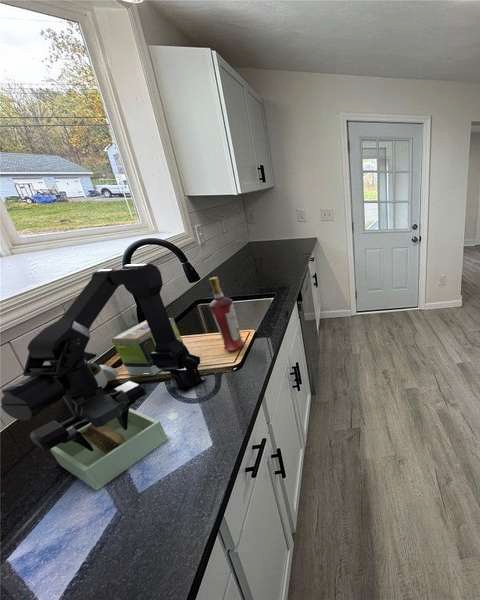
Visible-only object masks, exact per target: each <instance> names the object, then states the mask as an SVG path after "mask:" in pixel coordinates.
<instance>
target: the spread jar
mask: <svg viewBox="0 0 480 600" xmlns="http://www.w3.org/2000/svg"><path fill="white" fill-rule="evenodd" d="M87 363H88V365H89V367H90V368H91V370H92V372H93V374H94V376H95V378H96V380H97V382H98V384H99V385H100V386H101V387H102V388H103V389H104V390H105V389H106V388H107V386H108V382H113V381H115V380H117V378H118V376H119V372H118V370H116V368H114V367H111V366H109V365H105V364H98V363H95V362H92V361H90V360H89V361H88V362H87Z"/></svg>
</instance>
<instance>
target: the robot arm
mask: <svg viewBox="0 0 480 600" xmlns="http://www.w3.org/2000/svg"><path fill="white" fill-rule="evenodd" d="M121 285H123V287H124V288H125V290H126V291H127V292H128V293H130V294H131V295H132V296H133V297H135V298H136V299H137V301H138V304H139V306H140V308H141V311H142V313H143V316H144V318H145V320H146V321H147V323H148V326H149V328H150V331H151V333H152V336H153V338H154V341H155V343H156V347H155V350H154V352H152V353H150V356H151V358H152V360H153V365H154V366H155V365H156V366H157V368H158V369H162V370H161V371H163V372H164V373H169V374H170V377H169V379H170V382H171V384H172V388H173V389H175V390H177V391H180V392H183V393H187V392H189V391H190V390H193V388H195V387H197V386H198V385H199V384H201V383H203V382H204V381H205V380H206V379H205V378H204V377H201V373H200V371H199V365H200V364H201V356H198V355H194V354H191V353H190V351H189V349H188V347H187V346H186V345H185V343H184V342H183V343H181V342H180V341H179V340H178V339H177V338H176V336H175V333H174V331H173V328H172V325H171V323H170V320H169V318H170V317H169V315H168V312H167V310H166V307H165V304H164V301H163V299H162V296H161V291H162V288H163V285H164V283H163V277H162V272H161V270H160V268H159V267H158V266H157V265H155V264H153V263H137V264H135V263H134V264H133V263H132V264H131V263H130V264H125V265H123V266H122V267H121V268H118V269H116V268H115V269H98V270H96V271H94V272H93V273H92V275H91V279H90V280H89V281H88V283H87V284H86V286H84V288H83V289H82V290H81V292H80V293H79V294H78V296H77V297H76V298H75V299H74V301H73V302H72V303H71V305H70V306H69V307H68V309H67V310H66V311H65V312H64V314H63V315H62V316H61V317H60V318H59V319H58V320H56V321H55V322H53V323H52V324H50V325H48V326H46V327H45V328H44V329H42V330H41V331H39V333H38V334H36V335H35V336H34V337H33V338H32V339H31V340H30V341H29V343H28V345H27V351H28V355H27V358H26V362H25V366H24V370H23V372H22V376H23V377H26V378H25V379H23V380H21V381H19V382H18V383H15V384H12V385H10V386H8V387H6V388H3V389H2V390H1V393H2V394H3V397H1V399H0V404H1V405H0V407H1V409H2V410H3V412H4V413H6V414H7V415H8V416H10V417H11V418H13V419H15V420H18V421H21V422H22V421H23V422H24V421H29V420H30V419H32V418H33V417H35V416H36V415H39V414H40V413H41V412H43V411H44V410H46V409H48V408H50V407H51V406H53V405H54V404H55V403H57V402H59V401H60V400H62V399H63V400H64V399H65V400H64V402H65V401H66V402H65V404H66V403H67V404H68V405H67V404H66V405H67V407H68V406H69V407H68V409H69V408H70V409H69V411H70V412H71V414H72V413H73V414H74V416H72V417H69V418H68V419H65V420H64V421H62V422H61V423H59V422H57V421H56V420H54V419H53V420H51V421H49V422H47V423H46V424H44V425H42V426H40V427H38V428H36V429H34V430H32V431H31V432H30V435H29V439H30V440H31V441H32V443H33V444H34V445H36V446H37V447H39V448H40V449H42V450H43V451H50V449H51V448H53V447H55V446H57V445H58V444H60V443H63V444H64V443H67V442H69V441H73V442H75V443H78V444H80V445H82V446H83V447H85V448H86V449H88V450H90V451H91V452H92V451H94V450H93V448H92V446H91V445H90V444H89V443H88V441H87V440H86V439H85V438H84V437H83V436H82V433H80V432H79V431H77V430H78V429H75V427H76V426H78V425H80V424H81V423H84V422H83V421H85V420H88V421H87V422H89V423H92V424H93V425H94V426H95V427H102V426H104V425H105V424H106V423H108V422H109V421H111V420H113V419H115V418H117V419H118V422H119V424H120V425H121V427H122V428H123V429H124V430H127V425H128V412H129V409H130V408H131V407H132V406H133V405H135V404H136V402H137V400H139V399H140V398H142V397H144V396H145V395H147V390H146V388H145V386H144V385H143V384H140V383H138V382H136V381H133V380H128V381H127V382H124V383H122V384H121V385H119V386H117V387H115V388H113V391H112V392H111V393H107V391H105V389H103V388H102V387H101V386H100V385H99V384H98V382H97V380H96V378H95V376H94V374H93V372H92V370H91V368H90V367H89V365H88V363H87V362H88V361H89V362H90V361H91V360H93V359H95V358H96V357H97V356H98V354H97V353H92V352H87V351H85V350H86V349H87V346H88V344H89V342H90V339H91V334H90V329H91V327H92V325H93V323H94V322H95V321H96V319H97V318H98V317H99V315H100V314H101V312H102V311H103V309H104V308H105V307H106V305H107V303H108V302H109V301H110V299H111V298H112V296H113V295H114V293H115V292H116V291H117V290H118V288H119V286H121ZM50 362H58V364H57V365H50V364H45V363H50ZM44 364H45V365H44ZM73 414H72V415H73Z"/></svg>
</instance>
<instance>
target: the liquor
mask: <svg viewBox="0 0 480 600" xmlns="http://www.w3.org/2000/svg"><path fill="white" fill-rule="evenodd" d="M208 280H209V284H210V285H211V287H212V291H213V297H214V299H213V300H212V301H211V302H210V303H209V309H210V311H211V313H212V316H213V318H214V319H213V320H214V322H215V324H216V326H217V328H218V331H219V333H220V336H221V339H222V342H223V345H224V347H223V349H224V350H226V351H228V352H236V351H239V350H240V349H241V348H242V347H243V346H244V344H245V342H244V340H243V339H242V335H241V331H240V328H239V323H238V318H237V313H236V310H235V307H234V301H233V298H231V297H225V295H224V293H223V291H222V289H221V286H220V280H219V277H218V276H213V277H212V276H211V277H210V278H208Z"/></svg>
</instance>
